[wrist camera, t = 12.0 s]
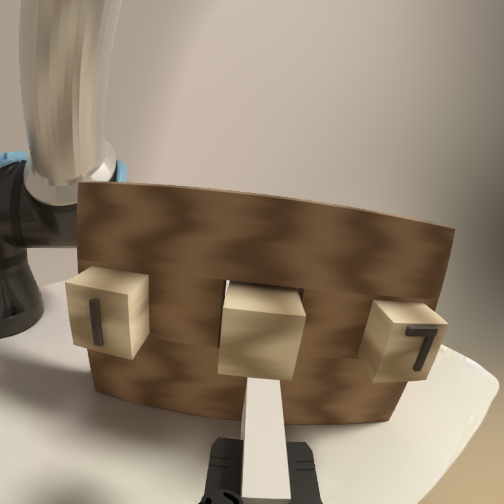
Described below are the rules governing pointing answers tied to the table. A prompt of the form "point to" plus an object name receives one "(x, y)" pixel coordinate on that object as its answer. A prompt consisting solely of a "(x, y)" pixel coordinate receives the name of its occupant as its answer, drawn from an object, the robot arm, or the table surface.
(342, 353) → the digit board
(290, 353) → the plain block
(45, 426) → the table surface
